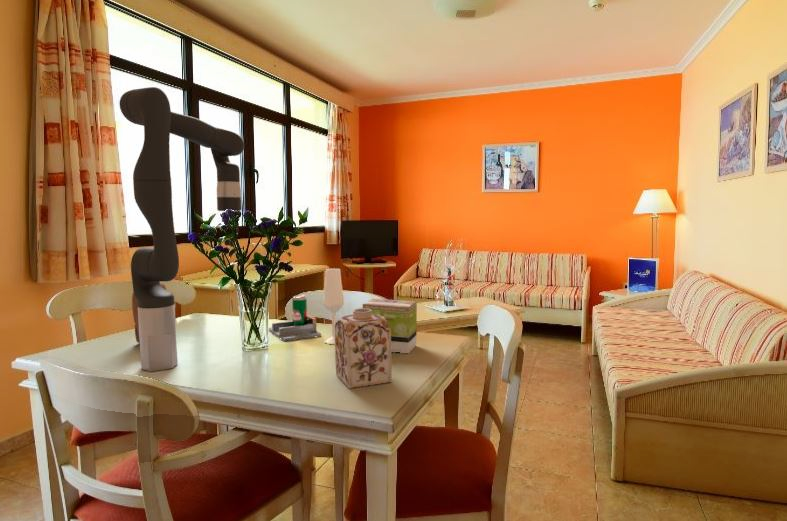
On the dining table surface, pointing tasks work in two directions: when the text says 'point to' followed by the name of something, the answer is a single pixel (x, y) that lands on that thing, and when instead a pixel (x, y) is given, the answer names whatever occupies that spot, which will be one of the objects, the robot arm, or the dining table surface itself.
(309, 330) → the coupler bracket
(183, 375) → the dining table surface
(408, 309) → the tea box
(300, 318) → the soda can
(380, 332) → the decorative jar
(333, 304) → the champagne flute
